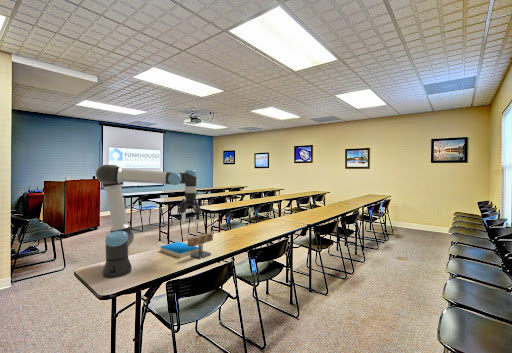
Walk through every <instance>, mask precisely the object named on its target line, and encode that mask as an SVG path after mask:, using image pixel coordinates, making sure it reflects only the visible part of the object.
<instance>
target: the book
mask: <svg viewBox="0 0 512 353" xmlns="http://www.w3.org/2000/svg"><path fill="white" fill-rule="evenodd" d="M198 251H199V246H193V247H190V246H188V243H185V242H181V241H176V242H172V243H168V244H165V245H161V246H160V252H162V253H165V254H168V255H171V256H174V257H177V258H180V259H181V258H184V257H188V256H191V254H192V253H195V252H198Z"/></svg>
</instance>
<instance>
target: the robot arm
mask: <svg viewBox="0 0 512 353" xmlns="http://www.w3.org/2000/svg"><path fill="white" fill-rule="evenodd" d="M197 174H198V173H197V170H196V169H185V172H174V171H173V172H172V171H170V172H169V171H156V170H155V171H154V170H138V169H128V168H126V169H125V168H122V167H121V166H118V165H115V164H103V165H100V166H99V167H98V168H97V169H96V172H95V178H96V179H97V180H98V182H99V183H102V184H101V185H102V188H103V189H105V191H106V196H107V197H106V198H107V202H108V209H109V213H110V220H111V224H112V227H111V228H110V233H108V234H107V235H106V236H105V241H104V243H105V263H104V266H103V269H102V276H103V277H104V278H107V279H108V278H118V277H123V276H126V275H128V274H130V273H131V272H132V270H133V268H132V267H133V266H132V264H131V262H130V259H129V247H130V245H131V244H132V243H133V242H134V238H135V234H134V231H133V230H132V227H131V224H129V222H128V218H127V212H126V206H125V201H124V196H123V190H122V189H123V188H122V187H123V186H124V183H139V184H140V183H142V184H157V185H173V186H177V185H179V184H181V185H183V184H184V185H185V186H184V198H182V201H181V203H180V204H181V205H180V207H179V210H178V211H179V212H180V213H181V214H180V215H181V222H182V223H184V222H185V223H186V214H187V212H186V210H187V208H189V207H191V208H192V209H193V212H194V213H195V215H194V225H195V226H197V225H199V222H200V215H202V214H203V212H202V209H201V205H200V202H199V199H196V198H197V193H196V192H197V177H198V176H197Z"/></svg>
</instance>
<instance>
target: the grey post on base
mask: <svg viewBox="0 0 512 353" xmlns="http://www.w3.org/2000/svg"><path fill="white" fill-rule="evenodd" d="M203 245H204V243H203V244H199V245H198V247H199V251H198V252H195V253H192V254H191V255H190V257H192V258H196V259H199V260H202V259H205V258H206V257H209V256H212V254H211V252H209V251H205V250H204V249H203V248H204V246H203ZM201 258H202V259H201Z"/></svg>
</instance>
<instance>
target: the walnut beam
mask: <svg viewBox="0 0 512 353" xmlns="http://www.w3.org/2000/svg"><path fill="white" fill-rule="evenodd" d="M212 241H214V234H213V233H212V232H207V233H204V234H200V235H196V236H192V237H189V238H187V244H188V246H190V247H193V246H195V247H197V246H199V244H203V245H204V244H206V243H208V242H212Z"/></svg>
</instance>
